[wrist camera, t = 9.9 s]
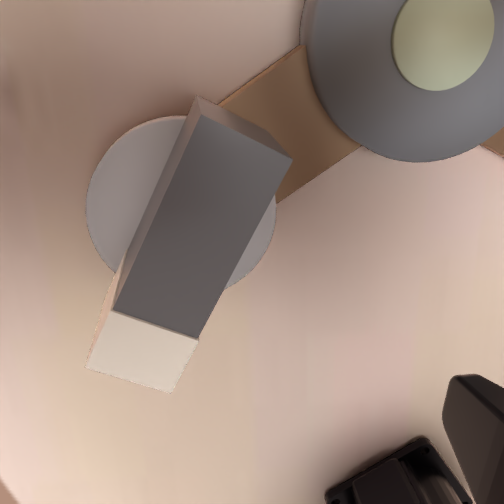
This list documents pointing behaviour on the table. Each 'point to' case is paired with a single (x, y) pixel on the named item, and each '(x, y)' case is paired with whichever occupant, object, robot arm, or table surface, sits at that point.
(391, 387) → the table surface
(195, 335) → the knob
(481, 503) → the robot arm
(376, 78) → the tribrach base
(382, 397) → the table surface
